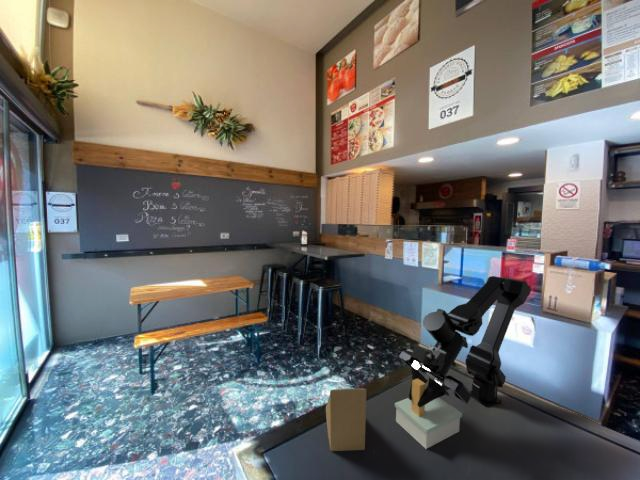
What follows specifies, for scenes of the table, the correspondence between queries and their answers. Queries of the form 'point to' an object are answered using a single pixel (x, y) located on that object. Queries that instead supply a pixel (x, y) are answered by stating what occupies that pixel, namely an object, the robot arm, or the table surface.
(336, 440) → the sandwich container
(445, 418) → the lid
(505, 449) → the table surface
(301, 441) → the table surface
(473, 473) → the table surface
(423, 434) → the tub
